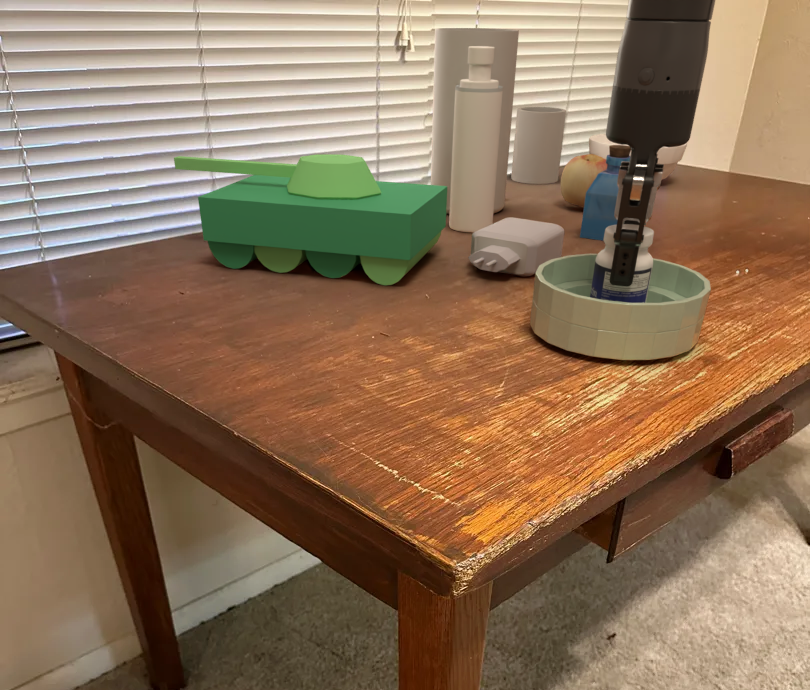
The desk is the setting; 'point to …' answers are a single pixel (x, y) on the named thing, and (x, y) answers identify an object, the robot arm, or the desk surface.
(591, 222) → the perfume bottle
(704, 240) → the desk surface
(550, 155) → the cup
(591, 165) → the apple
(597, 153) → the bowl
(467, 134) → the spray bottle
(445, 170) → the cylinder vase
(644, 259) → the pill bottle
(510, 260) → the charger
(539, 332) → the ceramic bowl
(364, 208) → the toy tank
